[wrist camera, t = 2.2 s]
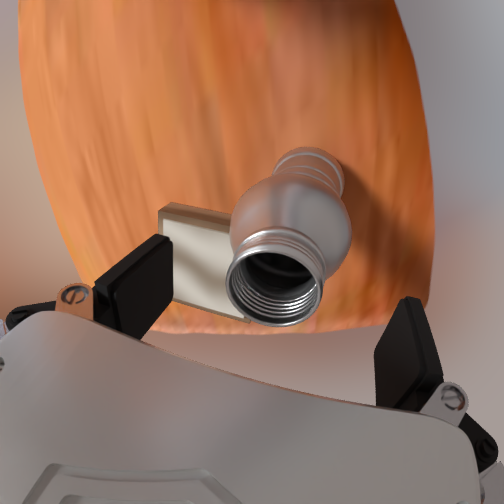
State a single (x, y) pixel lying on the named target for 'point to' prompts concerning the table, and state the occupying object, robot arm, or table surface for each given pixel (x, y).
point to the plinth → (200, 257)
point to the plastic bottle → (288, 239)
